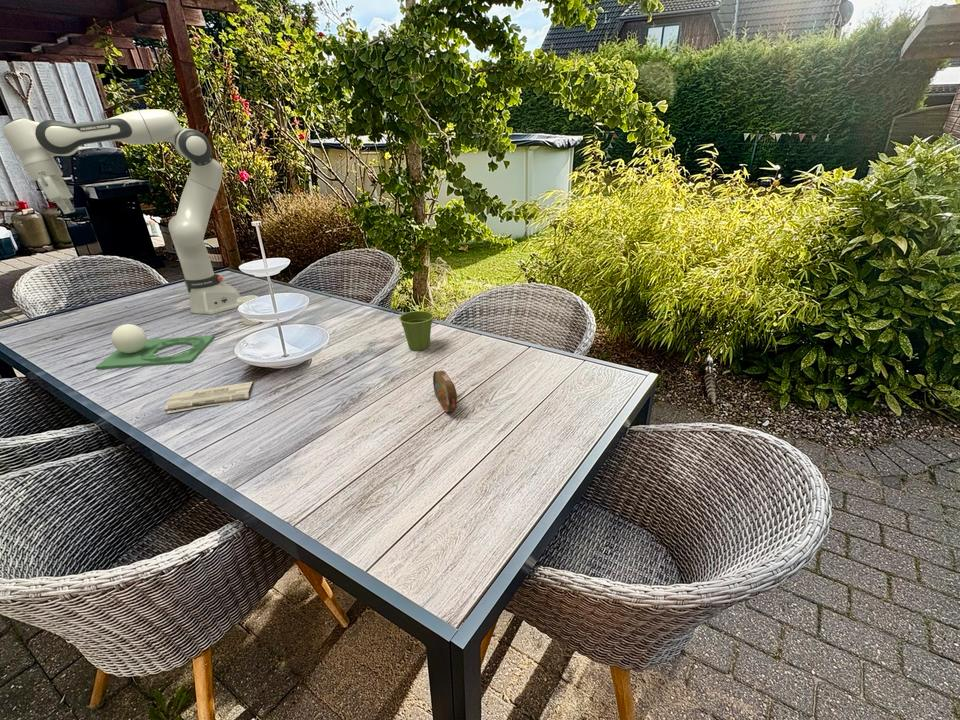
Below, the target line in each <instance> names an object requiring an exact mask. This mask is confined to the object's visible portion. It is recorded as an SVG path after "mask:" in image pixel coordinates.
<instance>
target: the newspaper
mask: <svg viewBox="0 0 960 720" xmlns="http://www.w3.org/2000/svg"><path fill="white" fill-rule="evenodd" d="M254 383H255V382H254V381H248V382H246V381H245V382H240V383H234V384H226V385H221V386H219V385H218V386H213V387H207V388H199V389H194V390H192V389H191V390H188V391H187V390H186V391H179V392H174V393H173V394H172V395H171V397H170V398H169V399H168V400H167V402H166V403H165V405H164V409H163V410H164V411H166V414H171V413H178V412H183V411H189V410H195V409H199V408H200V409H202V408H206V407H211V406H212V407H214V406H221V405H223V406H224V405H229V404H233V403H237V402H239V401H241V400H248V399H249V398H250V394H251V393H250V392H249V391H250V389H251V387H252V384H254ZM200 405H201V406H200ZM175 409H176V410H175Z"/></svg>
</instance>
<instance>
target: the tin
mask: <svg viewBox="0 0 960 720" xmlns="http://www.w3.org/2000/svg"><path fill="white" fill-rule="evenodd" d="M432 384H433V392H434V395H435V397H436V399H437V401H438V402H439V404H440V406H441V408H442V409H443V411H444V412H445V413H449V412H454V411H456V410H457V406H458V405H457V404H458V403H457V402H458V400H457V399H458V395H457V390H456V389H457V388H456V385H455V383H454V382H453V381H452V379H451V378H450V376H449V375H448V374H447V372H446V371H445V370H438V371H437V370H435V371H434V372H433V374H432Z"/></svg>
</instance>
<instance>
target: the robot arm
mask: <svg viewBox="0 0 960 720" xmlns="http://www.w3.org/2000/svg"><path fill="white" fill-rule="evenodd" d="M2 131H3V135H4V137H5V139H6V141H7V142H8V145H9V146H10V148H11V149H12V151H13V152H14V154H15V155H16V156H17V157H18V158H19V159H20V161H21V165H22V167H23V168H24V170H25V171H26V173H27V175H28V176H29V178H30V179H31V180H32V182H36V181H37V182H38V184H39V185H40V187H41V189H42V191H43V192H44V194H45V196H46V198H47V199H48V200H49V201H50V202H55V204H56V205H57V207H59V209H61V211H62V212H63V213H62V214H64V215H67V214H71V213H72V214H73V213H75V212H76V210H75V207H73V205H72V202H71V200H70V199H71V198H72V193H71V192H70V189H69V187H68V186H67V183H66V182H65V180H64V178H63V176H64V175H63V174H64V173H63V171H62V170H61V168H60V166H59V164H58V163H57V162H56V160H55V158H54V157H60V156H61V157H69V156H72V155H75V153H77V151H78V149H79V147H81V146H84V145H90V144H96V143H103V142H121V143H123V144H124V143H125V144H127V145H132V146H133V145H134V146H135V145H136V146H138V145H139V146H140V145H142V146H143V145H152V144H156V143H157V144H158V143H164V142H166V143H169V144H170V145H171V146H172V148H173V149H174V151H176V152H177V154H178V155H180V156H181V157H183V158H184V159H186V160H189V161H190V166H191V167H190V173H189V175H188V177H187V180H186V183H185V184H184V185H185V186H184V187H183V190H182V193H181V196H180V200H179V204H178V208H177V211H176V214H175V215H173V216H172V217H171V218H170V219H169V221H168V224H167V225H168V231H169V234H170V237H171V240H172V243H173V246H174V249H175V252H176V255H177V258H178V260H179V263H180V267H181V270H182V274H183V276H184V279H183V280H184V284H185V288H186V290H187V292H188V294H189V295H188V296H189V303H190V312H191V313H192V314H200V315H201V314H207V315H214V314H217V313H221V312H225V311H229V310H233V309H236V308H238V307H237V306H238V303H237V299H238V298H240V297H244V296H243V295H240V292H239V290H238V289H237V288H236V287H235V286H232V285H230V284H228V283H226V282H223V281H224V278H223V276H222V275H220V274H218V273H215V272H214V268H213V265H212V262H211V259H210V258H211V257H210V255H209V252H208V249H207V246H206V244H205V241H204V238H205V234H206V231H207V227H208V224H209V221H210V216H211V212H212V209H213V207H214V203H215V200H216V198H217V196H218V193H219V190H220V187H221V183H222V180H223V179H222V178H223V173H224V169H223V166H222V165H221V163H220V162H219V161H218V160H216V159H215V158H213V153H212V152H213V151H212V147H211V143H210V141H209V139H208V137H207V136H206V135H205V134H203V133H202V132H200V131H199V130H196V129H192V128H185V127H182V126H181V124H180V122H179V121H178V118H177V117H176V116H175V114H174V113H173V112H171V110H170V111H169V110H167V109H159V108H158V109H157V108H156V109H155V108H151V109H150V108H149V109H146V108H145V109H137V110H132V111H127V112H124V113H121V114H118V115H115V116H112V117H109V118H106V119H101V120H94V121H86V122H77V123H76V122H75V123H69V122H64V121H61V120H54V119H46V120H43V121H41V122H38V121H34V120H31V119H28V118H26V117H20V118H15V119H12V120H10V121H8V122H6V123H5V124H4V125H3V127H2Z"/></svg>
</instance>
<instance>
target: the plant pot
mask: <svg viewBox="0 0 960 720" xmlns="http://www.w3.org/2000/svg"><path fill="white" fill-rule="evenodd" d="M433 318H435V315H434V313H433V312H430V311H427V310H412V311H408V312H405V313H402V314H401V315H399V317H398V320H399V321H400V323H401V326H402V327H403V330H404V334H405V338H406V341H407V346H408V348H409V349H410V350H412V351H420V350H421V351H422V350H424V351H425V350H427V349H428V348H429V347H430V344H431V332H432V330H431V329H432V323H433Z"/></svg>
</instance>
